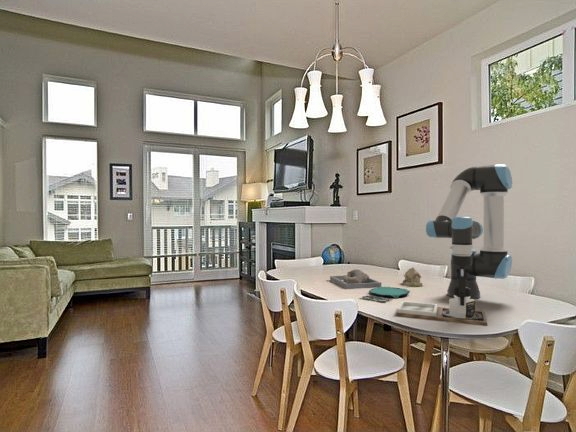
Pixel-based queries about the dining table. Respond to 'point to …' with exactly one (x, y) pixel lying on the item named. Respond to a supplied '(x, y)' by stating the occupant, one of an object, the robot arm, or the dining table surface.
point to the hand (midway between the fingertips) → (462, 310)
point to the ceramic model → (412, 278)
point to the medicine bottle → (469, 305)
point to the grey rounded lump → (355, 277)
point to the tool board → (435, 313)
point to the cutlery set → (385, 293)
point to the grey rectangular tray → (358, 285)
